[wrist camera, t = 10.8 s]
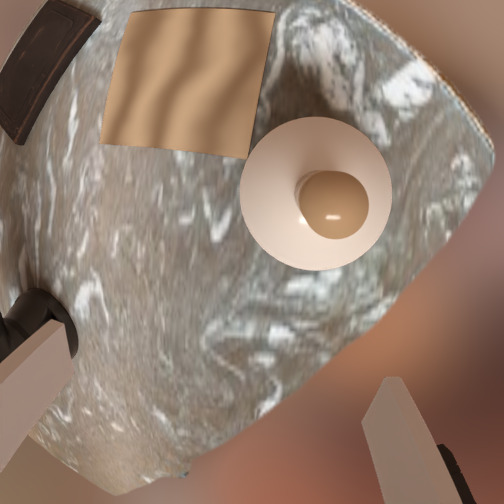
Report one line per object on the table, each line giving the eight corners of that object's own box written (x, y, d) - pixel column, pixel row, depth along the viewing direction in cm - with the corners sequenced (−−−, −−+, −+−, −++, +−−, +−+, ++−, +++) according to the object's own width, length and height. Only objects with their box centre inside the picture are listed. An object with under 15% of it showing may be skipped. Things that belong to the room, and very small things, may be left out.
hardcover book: (-8, 105, 33) (-16, 104, 31) (58, 0, 27) (51, -4, 25) (26, 145, 35) (16, 145, 33) (103, 23, 29) (96, 17, 27)
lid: (231, 254, 28) (214, 290, 20) (252, 107, 24) (242, 81, 16) (370, 276, 28) (401, 315, 20) (398, 137, 24) (443, 129, 16)
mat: (100, 143, 34) (99, 143, 33) (132, 14, 28) (131, 12, 28) (247, 159, 33) (247, 159, 33) (275, 14, 28) (275, 13, 27)
